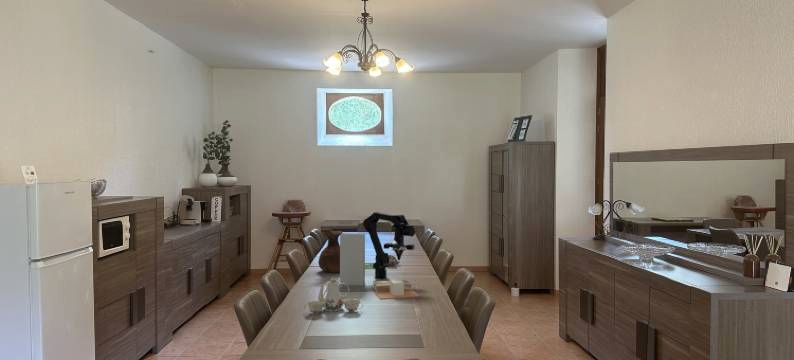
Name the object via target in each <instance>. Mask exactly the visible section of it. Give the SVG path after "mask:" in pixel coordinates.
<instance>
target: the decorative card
mask: <svg viewBox="0 0 794 360" xmlns="http://www.w3.org/2000/svg"><path fill="white" fill-rule="evenodd" d="M388 256H389V258H390V259H389V260H390V262H389V264H388V267H386V270H394V269H395V270H397V269H398V267H402V266H403V265H402V264H400V263H401V261H400V260H398V258H397V257H396V256H395V255H392V254H388ZM374 263H375V262H365V270H375V269H374V268H373V264H374Z"/></svg>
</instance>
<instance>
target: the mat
mask: <svg viewBox="0 0 794 360" xmlns="http://www.w3.org/2000/svg"><path fill="white" fill-rule="evenodd" d="M375 295H376V296H377V297H378V299H380V300H388V299H389V300H390V299H407V298H420V295H419V294H418V293H417V292H416V291H414V290H413V289H411V291H404V295H400V296H393V295H392V294H391V293H390V292H376V291H375Z"/></svg>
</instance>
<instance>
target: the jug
mask: <svg viewBox="0 0 794 360" xmlns="http://www.w3.org/2000/svg"><path fill="white" fill-rule="evenodd" d="M320 232H321V233H323V235H324V236H325V237H326V238H327V245H326V247H324V248H323V249H322V250H321V252H320V254H319V257H318V263H317V264H318V266H319V268H320V270H321V271H323V272H326V273H331V274H332V273H334V274H337V273H338V274H340V241H339V238H340V235H342V234H344V232H343V231H341V230H337V231H335V230H334V231H331V229H329V228H321V229H320Z"/></svg>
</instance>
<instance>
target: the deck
mask: <svg viewBox="0 0 794 360" xmlns="http://www.w3.org/2000/svg"><path fill="white" fill-rule="evenodd" d="M401 280H402V281H403V282H404V291H411V290H412V283H411V282H410V281H408V280H407V279H401ZM372 286H373V287H372V288H373V290H374V291H375V292H390V280H377V281H375V280H374V281H373V282H372Z"/></svg>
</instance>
